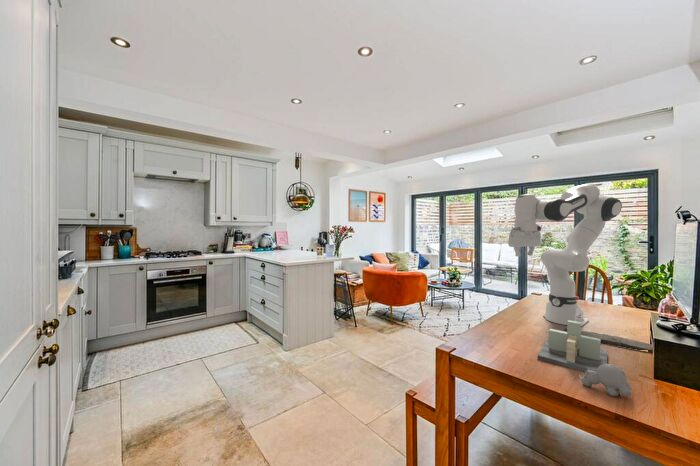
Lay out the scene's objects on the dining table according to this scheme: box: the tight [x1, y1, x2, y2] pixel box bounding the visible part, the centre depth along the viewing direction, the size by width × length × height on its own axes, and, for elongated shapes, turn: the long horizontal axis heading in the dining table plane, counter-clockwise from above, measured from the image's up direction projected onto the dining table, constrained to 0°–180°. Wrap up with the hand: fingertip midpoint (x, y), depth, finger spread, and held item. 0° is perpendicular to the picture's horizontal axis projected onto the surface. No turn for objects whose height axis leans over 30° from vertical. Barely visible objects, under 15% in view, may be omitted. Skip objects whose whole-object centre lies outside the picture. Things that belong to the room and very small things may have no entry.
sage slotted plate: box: [548, 320, 602, 361], centre depth 115 cm, size 16×2×12 cm, turn 48°
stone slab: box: [562, 328, 653, 351], centre depth 133 cm, size 10×3×30 cm
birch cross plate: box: [537, 335, 609, 373], centre depth 115 cm, size 24×20×9 cm
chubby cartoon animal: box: [578, 363, 632, 397], centre depth 92 cm, size 7×12×8 cm, turn 43°
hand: (524, 255), depth 141 cm, fingers open, 8 cm apart
